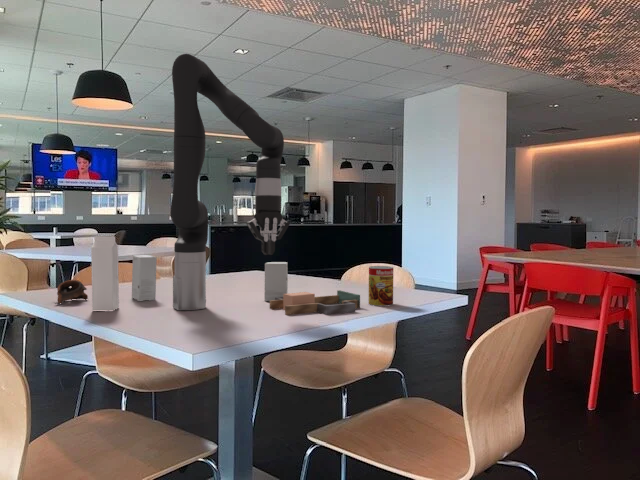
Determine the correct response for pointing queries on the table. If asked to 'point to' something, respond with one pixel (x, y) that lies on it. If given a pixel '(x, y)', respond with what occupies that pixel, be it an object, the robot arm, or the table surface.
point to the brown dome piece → (71, 291)
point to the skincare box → (144, 277)
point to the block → (298, 298)
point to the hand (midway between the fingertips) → (268, 254)
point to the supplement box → (276, 280)
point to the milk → (105, 273)
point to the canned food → (380, 285)
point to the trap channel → (322, 304)
